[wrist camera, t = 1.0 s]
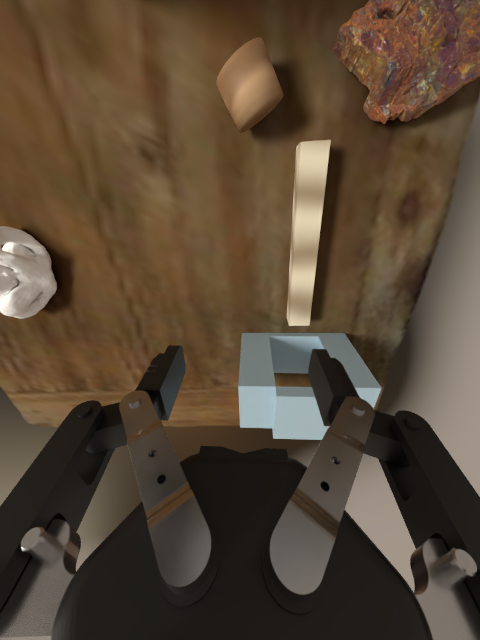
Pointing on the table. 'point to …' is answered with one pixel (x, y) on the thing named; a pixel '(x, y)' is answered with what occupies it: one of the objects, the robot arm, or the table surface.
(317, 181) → the long cream stick
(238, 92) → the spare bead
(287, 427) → the light blue notched block
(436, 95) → the mineral specimen
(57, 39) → the table surface
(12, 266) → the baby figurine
